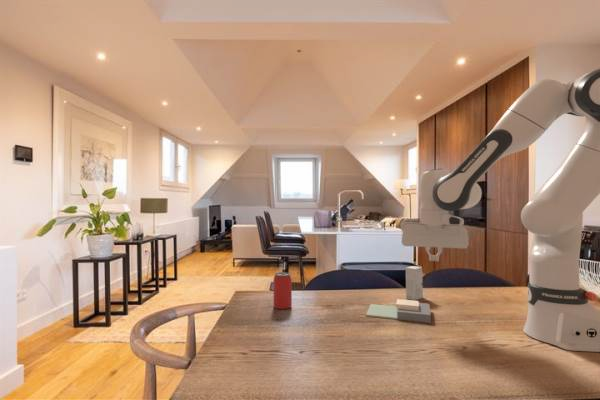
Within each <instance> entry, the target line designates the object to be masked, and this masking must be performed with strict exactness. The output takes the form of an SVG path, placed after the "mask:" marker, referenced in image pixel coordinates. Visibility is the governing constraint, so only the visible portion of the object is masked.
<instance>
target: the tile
mask: <svg viewBox="0 0 600 400" xmlns="http://www.w3.org/2000/svg"><path fill="white" fill-rule="evenodd" d="M419 303H420V302H419V300H411V299H399V298H397V299H396V303H395V306H396V309H405V310H415V311H419Z"/></svg>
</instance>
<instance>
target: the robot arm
mask: <svg viewBox="0 0 600 400" xmlns="http://www.w3.org/2000/svg"><path fill="white" fill-rule="evenodd" d="M565 114H567V115H571V116H576V117H585V121H586V123H585V128H584V130H583V133H582V134H581V135H580V137H578V139H577V141H576V142H575V144H574V145H573V146H572V147H571V149H570V150H569V152H568V153H567V155H566V156H565V158H564V159H563V160H562V162H561V163H560V165H559V166H558V168H556V170H555V171H554V173H553V174H552V175H551V176H550V177H549V178H548V179H547V180H546V181H545V183H544V184H543V185H541V187H540V188H539V189H538V190H537V192H536V193H535V194H534V195H533V196H532V198H531V199H530V200H529V201H528V202H527V203H526V204H525V205H524V206H523V207H522V210H521V212H520V221H521V223H522V225H523V226H524V227H523V228H525V229H526V230H527V231H529V232H530V233H531V234H533V237H532V242H531V243H532V244H531V249H530V252H529V257H528V261H529V263H528V264H529V265H528V267H529V268H528V270H529V279H528V280H529V282H527V288H526V289H527V290H526V294H527V298H526V299H527V303H528V310H527V314H526V315H527V317H526V320H525V323H524V327H523V329H522V331H523V332H524V333H525V334H526V335H527V336H529V337H530V338H533V339H535V340H537V341H540V342H544V343H547V344H550V345H554V346H556V347H558V348H561V349H564V350H565V351H566V350H567V351H579V352H595V353H600V310H599V309H598V308H596V307H595V306H594V305H592V304H591V303H589V301H590V302H591V301H592V302H596V300H597V299H598V295H597V294H596V293H594V292H592V291H587V290H585V289H583V288H582V287H580V256H581V255H580V254H581V253H580V252H581V245H582V235H583V234H582V233H583V222H584V221H583V218H584V215H583V213H584V212H585V211H586V209H587V208H588V207H589V206H590V204H592V202H593V201H595V199H596V198H597V197H598V196H599V195H600V68H598V69H597V68H596V69H594V70H593V71H592V70H591V71H590V72H587V73H585V74H583V75H581V76H580V77H578V78H576V79H574V80H573V81H570V82H568V83H562V82H560V81H557V80H555V79H550V78H549V79H548V78H547V79H546V78H544V79H540V80H537V81H535V82H534V83H532V84H531V86H530V87H528V88H527V89H526V90H525V91H524V92H523V93H522V94H521V95H520V96H519V97H517V99H516V100H515V101H514V102H513V103H512V104H511V105H510V106H509V107H508V109H507V110H506V111H505V112H504V113H503V115H502V116H501V118H500V119H499V120H498V121H497V122H496V124H495V125H494V127H493V128H492V129H491V130H490V131H489V133H488V134H487V135H486V136H485V137H484V139H482V140H481V142H480V143H479V144H478V145H476V147H475V148H474V149H473V150H471V152H470V153H469V155H467V157H466V158H465V159H464V160H462V162H461V163H460V164H459V166H457V167H456V169H454V170H453V171H452V172H449V171H448V170H447V169H445V168H434V169H428V170H426V171H424V172H423V173H422V174H421V175H420V181H419V192H418V193H419V195H418V197H419V200H420V205H419V210H418V211H419V214H418V215H419V218H418V217H417V218H416V217H415V218H405V219H403V220H401V222H400V230H401V231H402V235H401V245H402V246H404V247H422V248H425V252H426V253H427V254H428V261H429V262H439V261H440V255H441V254H442V253H443V249H445V248H446V249H447V248H448V249H467V248H468V247H469V235H468V230H467V228H466V227H465V226H464V224H465V220H464V218H462V217H459V216H456V215H454V214H449V212H454V211H459V210H464V209H465V210H467V209H470V208H474V207H475V206H477V205H478V204H479V203H480V202H481V200H482V196H483V191H482V188H481V186H480V184H479V183H478V181H479V180H480V179H481V178H482V177H483V176H484V175H485V173H487V172H488V171H489V170H490V169H491V167H492V166H494V165H495V164H496V163H497V162H498V161H500V160H501V159H502V158H504V157H507V156H509V155H512V154H515V153H518V152H519V153H520V152H522V151H525V150H526V149H528V148H529V147H530V146H532V144H534V143H535V142H536V141H538V139H540V137H542V136H543V134H544V133H545V132H546V131H547V130H548V129H549V128H550V127H551V126H552V124H553V123H554V122H555V121H556V120H558V119H559V118H560V117H562V116H563V115H565ZM431 248H437V251H438V252H437V253H436V254H431V252H430V251H431Z"/></svg>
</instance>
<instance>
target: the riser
mask: <svg viewBox="0 0 600 400" xmlns="http://www.w3.org/2000/svg"><path fill="white" fill-rule="evenodd" d="M430 307H431V306H430V303H423V302H419V311H415V310H405V309H398V310H397V319H396V320H398V321H399V320H400V321H410V322H418V323H427V324H431V323H432V319H431V318H432V317H431V316H432V315H431V308H430Z"/></svg>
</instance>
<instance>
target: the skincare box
mask: <svg viewBox="0 0 600 400" xmlns="http://www.w3.org/2000/svg"><path fill="white" fill-rule="evenodd" d="M423 286H424V285H423V267H422V266H416V265H411V266H407V267H405V293H406V294H405V299H406V300H413V301H419V300H420V299H423V297H424V292H423V291H424V289H423V288H424V287H423Z"/></svg>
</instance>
